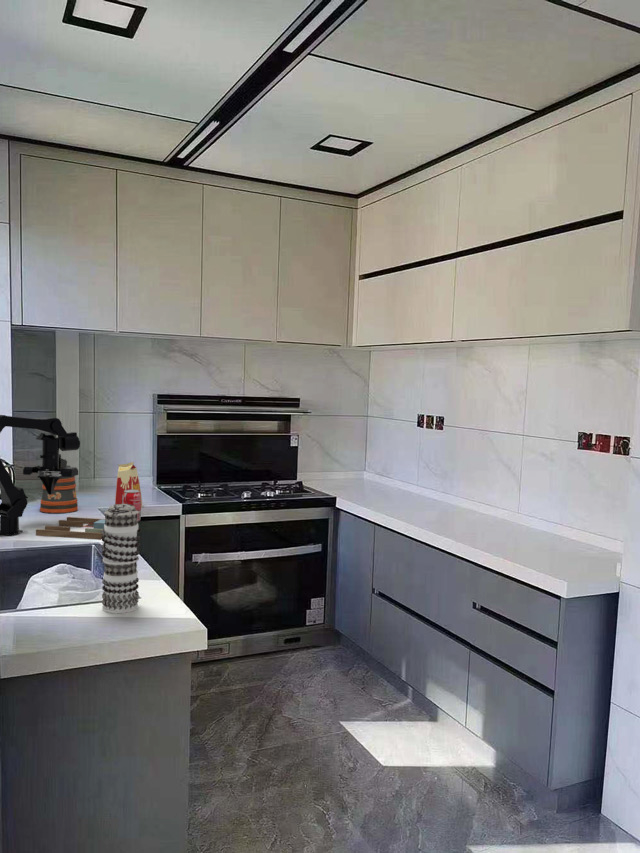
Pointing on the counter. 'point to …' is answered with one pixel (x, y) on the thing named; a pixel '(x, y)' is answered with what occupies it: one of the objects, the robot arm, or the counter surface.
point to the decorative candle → (120, 559)
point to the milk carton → (126, 481)
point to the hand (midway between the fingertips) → (50, 494)
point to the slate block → (99, 524)
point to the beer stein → (60, 497)
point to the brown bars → (65, 531)
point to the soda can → (133, 500)
